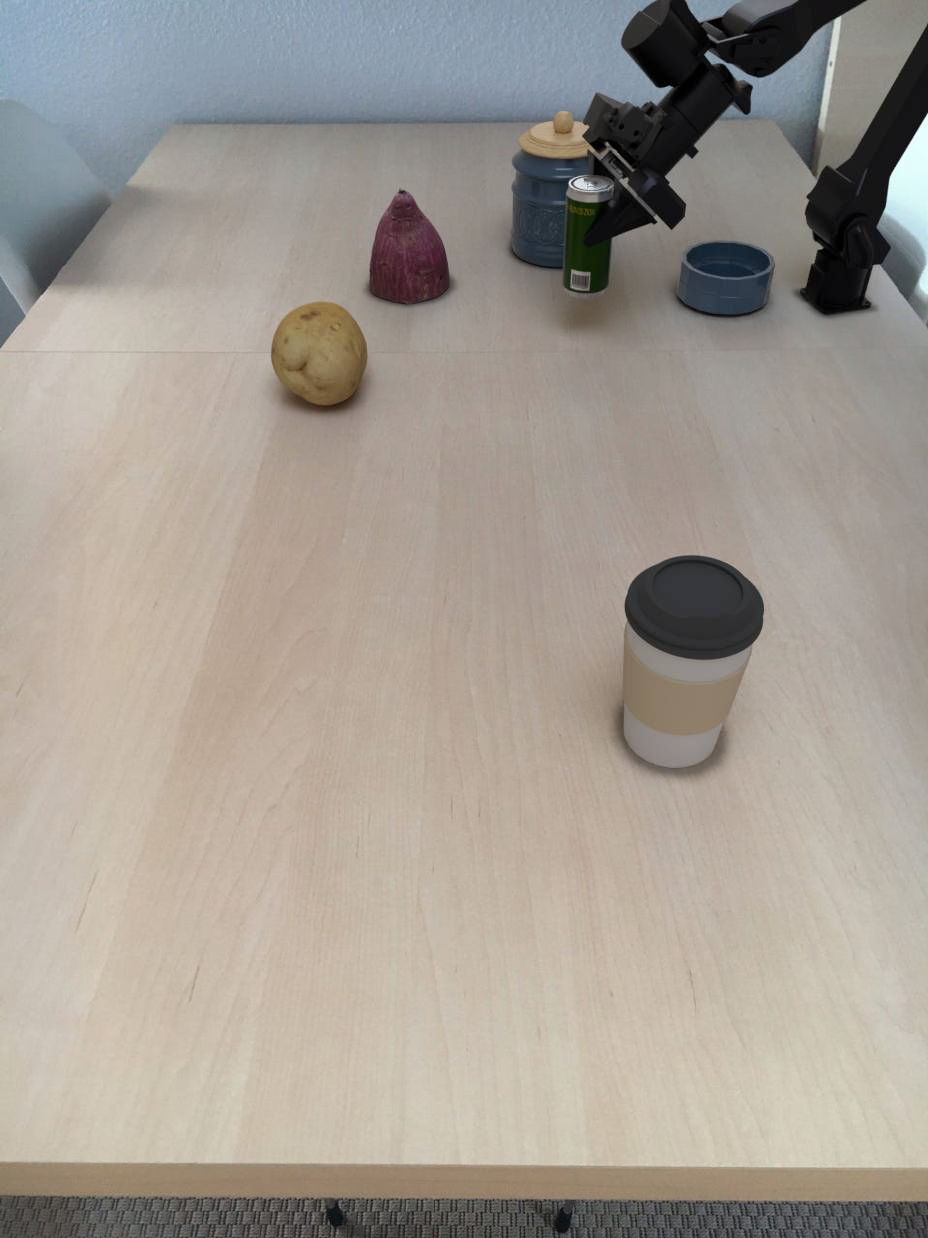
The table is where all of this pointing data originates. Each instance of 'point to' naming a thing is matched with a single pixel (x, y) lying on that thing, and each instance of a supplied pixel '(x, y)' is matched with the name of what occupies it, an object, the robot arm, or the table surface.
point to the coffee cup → (685, 655)
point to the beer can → (583, 207)
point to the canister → (546, 187)
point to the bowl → (725, 277)
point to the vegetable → (407, 255)
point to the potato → (319, 353)
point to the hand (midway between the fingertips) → (576, 234)
